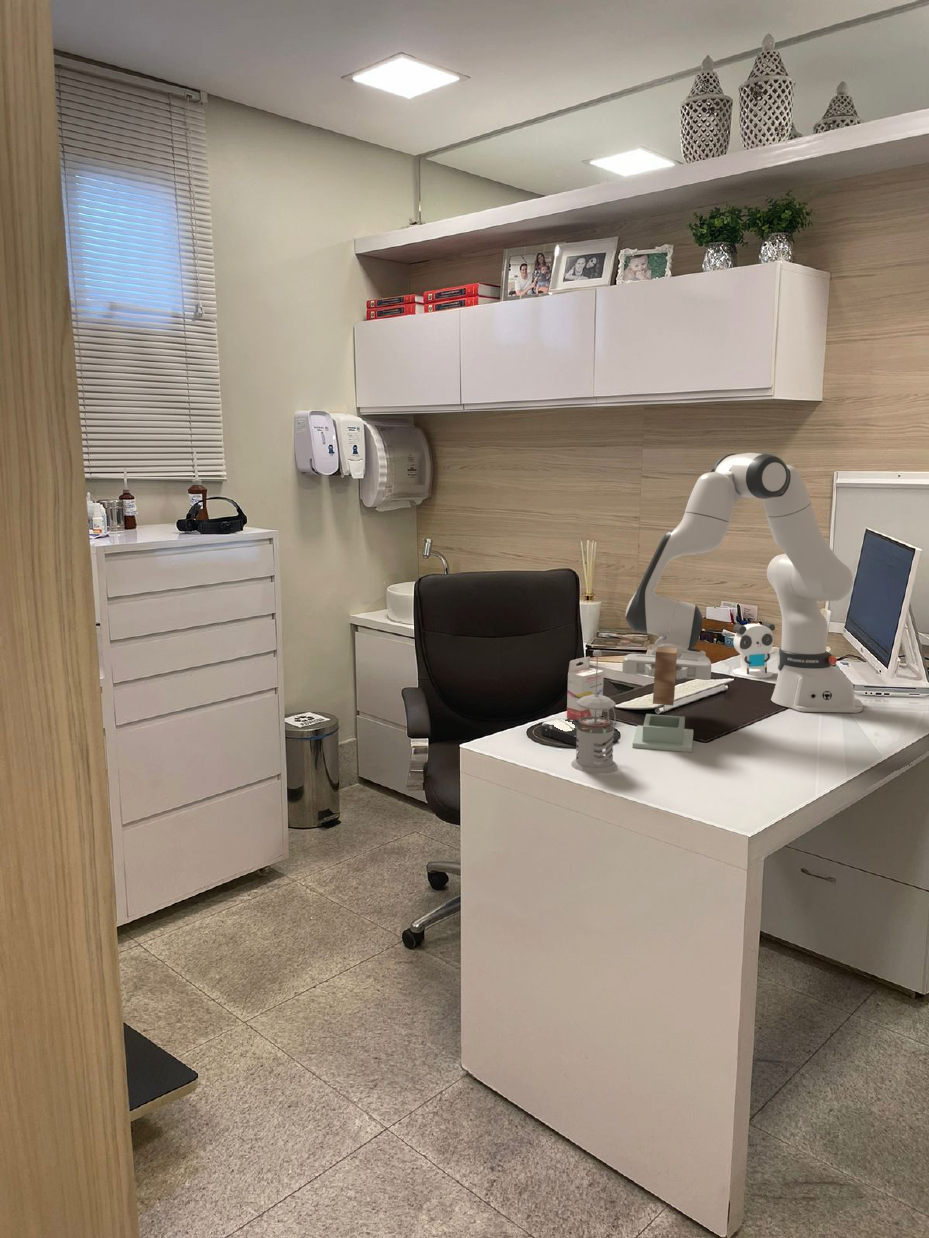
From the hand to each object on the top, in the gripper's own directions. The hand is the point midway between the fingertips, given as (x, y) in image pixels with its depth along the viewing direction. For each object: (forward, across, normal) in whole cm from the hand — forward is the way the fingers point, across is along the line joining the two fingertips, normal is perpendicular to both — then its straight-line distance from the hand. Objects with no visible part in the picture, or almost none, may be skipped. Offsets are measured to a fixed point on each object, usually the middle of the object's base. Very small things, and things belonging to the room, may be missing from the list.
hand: (665, 674), depth 212 cm
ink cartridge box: (-15, -19, +16) cm, 30 cm away
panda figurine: (-73, +23, +15) cm, 78 cm away
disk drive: (+2, -19, +17) cm, 25 cm away
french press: (+19, -12, +16) cm, 28 cm away
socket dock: (-1, 0, +16) cm, 16 cm away
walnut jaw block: (-1, 0, +6) cm, 7 cm away
